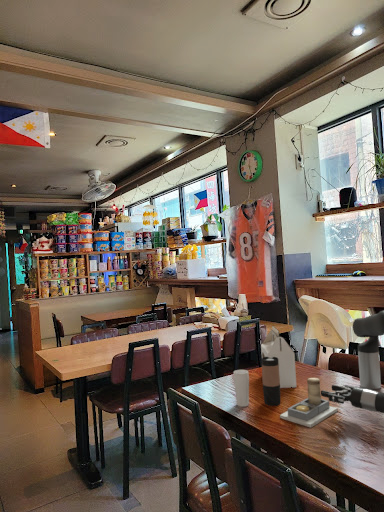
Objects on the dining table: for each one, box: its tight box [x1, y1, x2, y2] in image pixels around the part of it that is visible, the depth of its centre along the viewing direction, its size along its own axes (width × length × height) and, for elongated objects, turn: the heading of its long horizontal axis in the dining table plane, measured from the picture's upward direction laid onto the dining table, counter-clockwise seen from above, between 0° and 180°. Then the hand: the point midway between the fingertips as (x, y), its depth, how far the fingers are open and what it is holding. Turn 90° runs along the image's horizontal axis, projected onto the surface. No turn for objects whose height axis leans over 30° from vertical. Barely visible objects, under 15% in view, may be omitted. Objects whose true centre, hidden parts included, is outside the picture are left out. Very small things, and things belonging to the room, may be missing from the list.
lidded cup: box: [306, 377, 322, 406], centre depth 163 cm, size 5×5×12 cm
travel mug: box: [261, 357, 282, 407], centre depth 174 cm, size 8×8×20 cm
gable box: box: [260, 325, 297, 389], centre depth 204 cm, size 22×13×28 cm, turn 179°
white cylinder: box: [233, 369, 250, 408], centre depth 174 cm, size 7×7×15 cm
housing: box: [279, 397, 339, 428], centre depth 160 cm, size 21×14×4 cm, turn 132°
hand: (326, 390), depth 158 cm, fingers open, 8 cm apart
